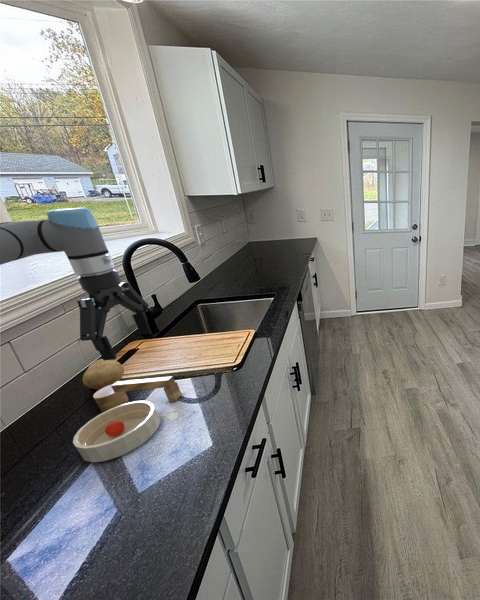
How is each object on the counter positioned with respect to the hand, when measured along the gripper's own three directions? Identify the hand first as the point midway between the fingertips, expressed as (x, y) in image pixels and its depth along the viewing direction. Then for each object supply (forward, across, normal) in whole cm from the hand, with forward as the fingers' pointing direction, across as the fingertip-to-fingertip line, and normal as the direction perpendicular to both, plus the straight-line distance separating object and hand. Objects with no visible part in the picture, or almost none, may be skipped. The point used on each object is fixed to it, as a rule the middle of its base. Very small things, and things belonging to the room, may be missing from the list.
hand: (129, 345), depth 86 cm
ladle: (+18, -1, +3) cm, 18 cm away
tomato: (+16, -14, -1) cm, 21 cm away
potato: (+18, +9, +19) cm, 28 cm away
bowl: (+18, -15, -3) cm, 24 cm away
